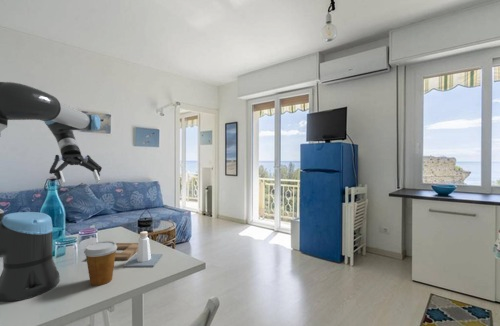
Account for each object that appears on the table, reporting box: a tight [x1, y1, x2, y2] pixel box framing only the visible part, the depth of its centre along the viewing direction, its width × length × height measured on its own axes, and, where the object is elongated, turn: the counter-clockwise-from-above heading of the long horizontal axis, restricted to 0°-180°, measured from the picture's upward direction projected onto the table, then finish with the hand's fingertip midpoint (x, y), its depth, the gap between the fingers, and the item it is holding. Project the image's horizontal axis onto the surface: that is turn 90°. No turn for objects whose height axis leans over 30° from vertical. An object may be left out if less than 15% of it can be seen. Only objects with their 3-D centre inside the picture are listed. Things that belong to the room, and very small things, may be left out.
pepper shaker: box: [136, 230, 152, 262], centre depth 100 cm, size 5×5×11 cm
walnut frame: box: [115, 242, 138, 261], centre depth 109 cm, size 16×16×2 cm
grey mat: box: [123, 253, 163, 268], centre depth 100 cm, size 11×11×1 cm
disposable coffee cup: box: [83, 240, 117, 287], centre depth 84 cm, size 10×10×12 cm
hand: (81, 183), depth 112 cm, fingers open, 13 cm apart
